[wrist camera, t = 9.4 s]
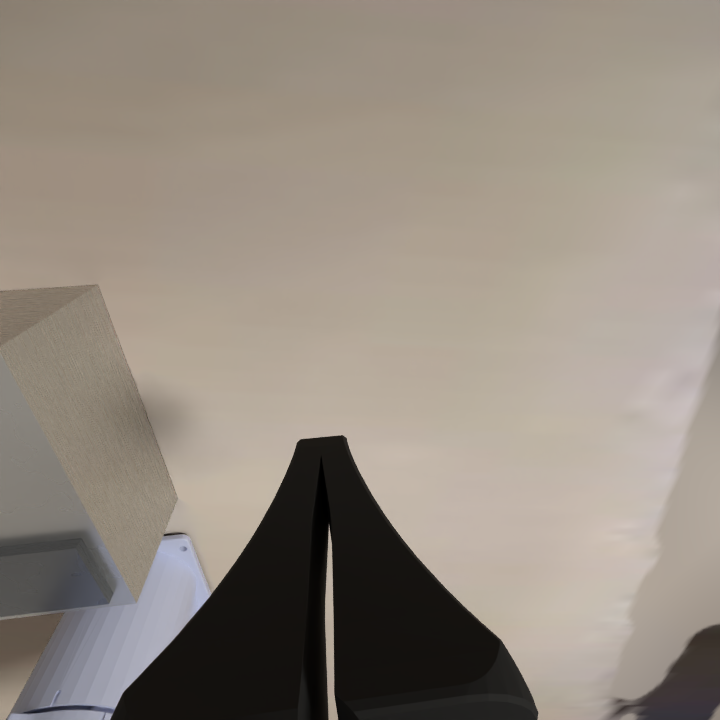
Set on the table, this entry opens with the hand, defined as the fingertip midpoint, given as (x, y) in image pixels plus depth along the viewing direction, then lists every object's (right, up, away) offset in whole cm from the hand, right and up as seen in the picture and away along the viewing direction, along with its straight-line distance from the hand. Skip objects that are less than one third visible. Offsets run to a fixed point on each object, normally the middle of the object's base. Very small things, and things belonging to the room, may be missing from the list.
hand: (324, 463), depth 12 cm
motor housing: (-17, 0, +9) cm, 19 cm away
